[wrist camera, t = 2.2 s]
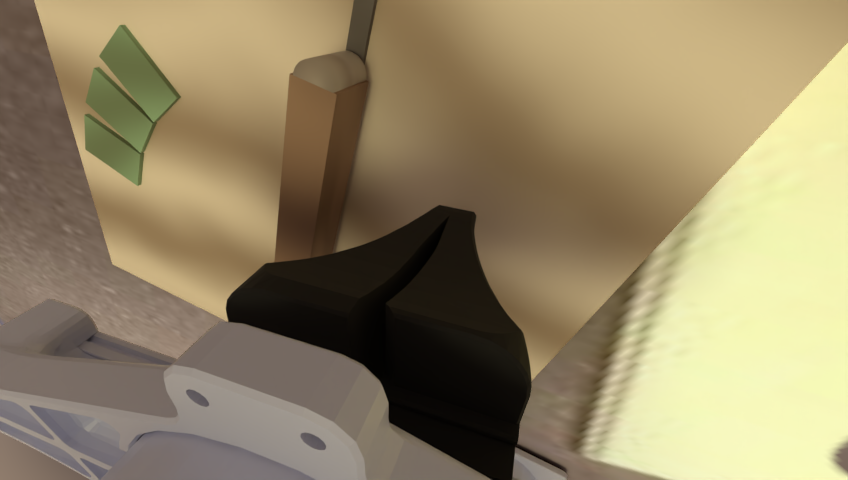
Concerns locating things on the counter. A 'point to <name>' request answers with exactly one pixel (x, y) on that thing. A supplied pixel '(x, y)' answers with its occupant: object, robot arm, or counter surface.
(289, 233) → the tuning peg
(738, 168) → the counter surface
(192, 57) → the dial board
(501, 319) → the robot arm
